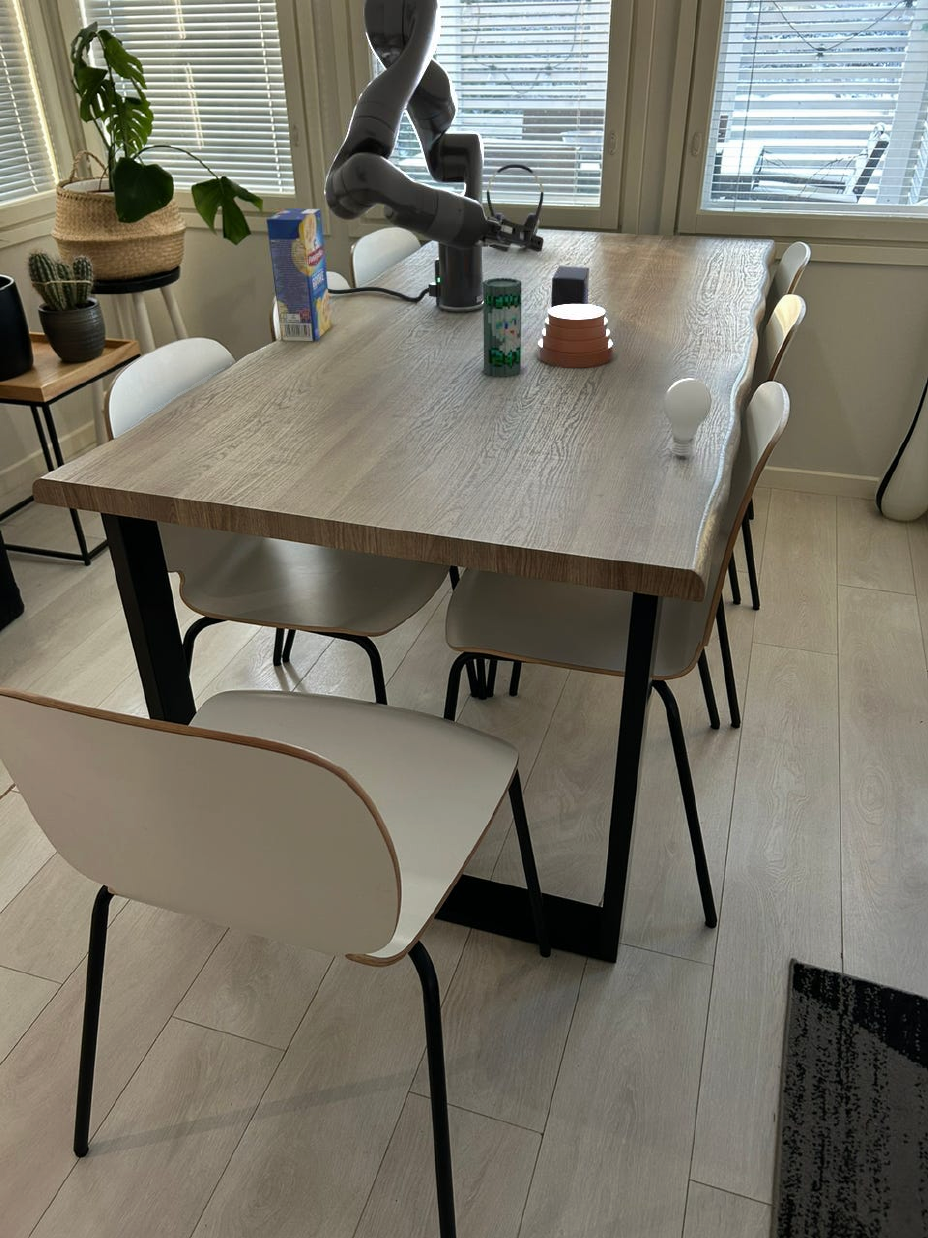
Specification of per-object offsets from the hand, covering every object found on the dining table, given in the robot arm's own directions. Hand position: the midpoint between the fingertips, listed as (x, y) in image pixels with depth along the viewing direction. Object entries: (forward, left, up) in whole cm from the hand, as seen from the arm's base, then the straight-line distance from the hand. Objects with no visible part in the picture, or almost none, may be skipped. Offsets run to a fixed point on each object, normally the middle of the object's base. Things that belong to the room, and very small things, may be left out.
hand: (524, 245), depth 160 cm
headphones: (-59, +79, -20) cm, 101 cm away
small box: (-7, +25, -20) cm, 33 cm away
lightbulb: (+41, -20, -20) cm, 50 cm away
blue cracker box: (-47, -7, -20) cm, 52 cm away
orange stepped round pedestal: (+4, +10, -20) cm, 23 cm away
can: (-2, -4, -20) cm, 21 cm away
